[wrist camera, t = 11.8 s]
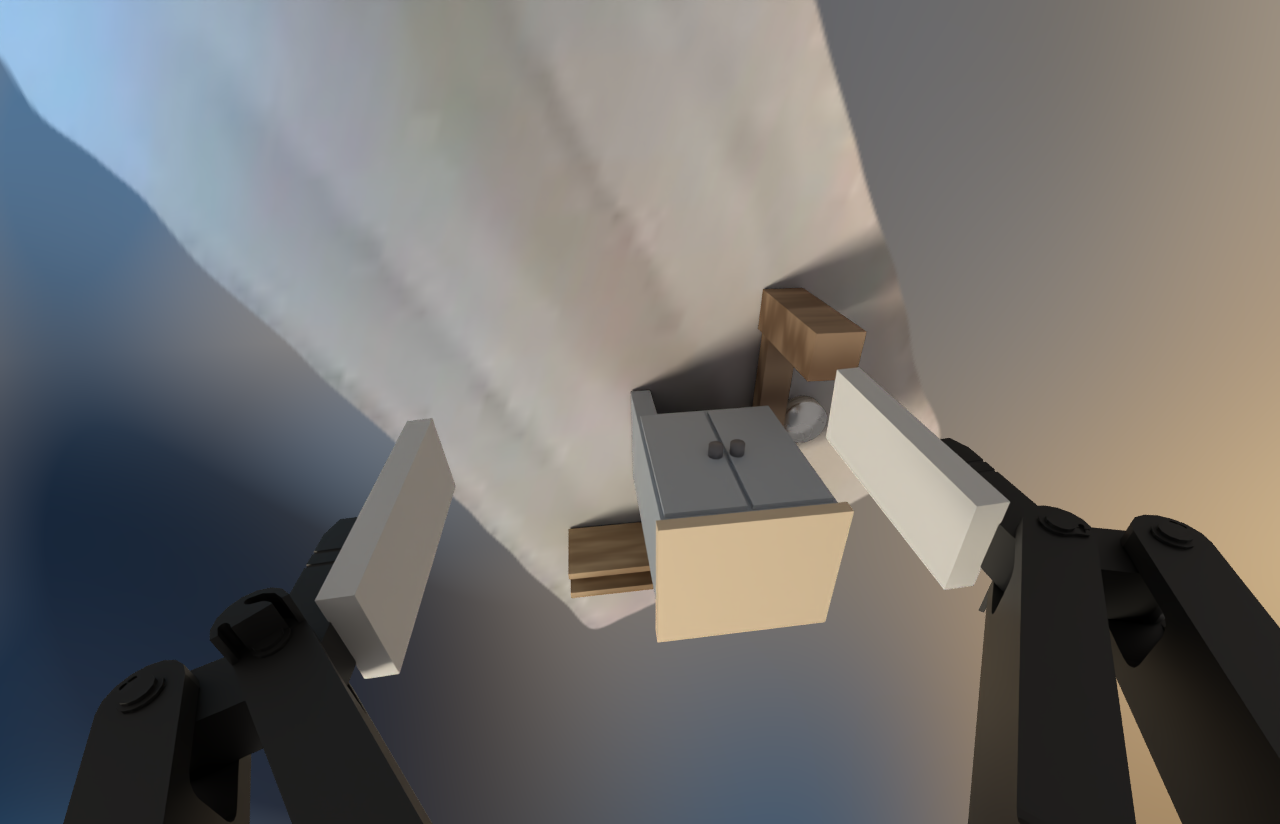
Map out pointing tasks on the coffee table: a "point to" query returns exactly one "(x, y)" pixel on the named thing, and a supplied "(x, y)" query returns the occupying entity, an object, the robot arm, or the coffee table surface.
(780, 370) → the wooden block
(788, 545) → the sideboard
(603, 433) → the coffee table surface
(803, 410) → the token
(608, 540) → the stand
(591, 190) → the coffee table surface
